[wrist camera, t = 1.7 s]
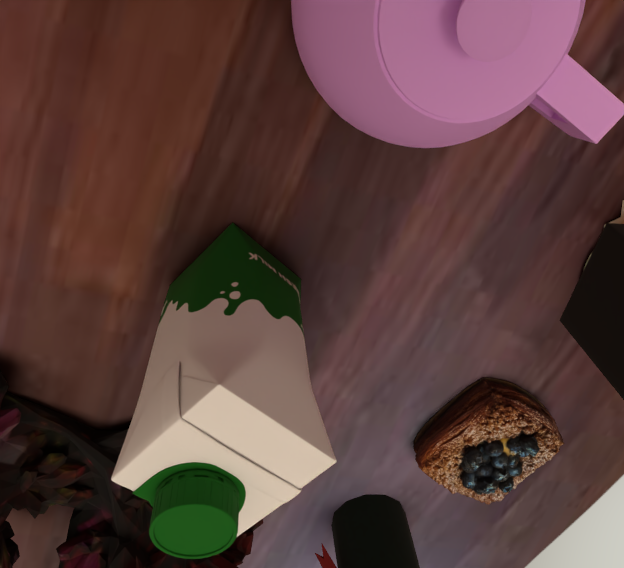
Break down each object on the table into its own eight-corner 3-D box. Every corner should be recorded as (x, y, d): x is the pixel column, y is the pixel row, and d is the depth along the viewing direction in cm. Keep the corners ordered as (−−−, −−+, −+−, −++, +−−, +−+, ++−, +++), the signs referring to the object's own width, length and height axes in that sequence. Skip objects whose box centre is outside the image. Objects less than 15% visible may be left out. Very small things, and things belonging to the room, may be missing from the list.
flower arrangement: (287, 427, 49) (299, 590, 37) (210, 553, 58) (198, 722, 45) (-96, 320, 40) (-259, 488, 27) (-122, 489, 49) (-255, 679, 36)
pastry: (564, 410, 52) (598, 459, 47) (478, 485, 56) (500, 537, 51) (483, 364, 48) (510, 411, 43) (397, 449, 52) (412, 500, 47)
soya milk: (152, 285, 41) (78, 520, 24) (232, 203, 38) (215, 401, 21) (240, 348, 44) (231, 590, 27) (319, 277, 42) (365, 497, 25)
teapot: (634, -16, 33) (806, -4, 23) (471, 193, 39) (549, 277, 29) (336, -293, 26) (391, -461, 16) (191, 18, 32) (163, 46, 22)
